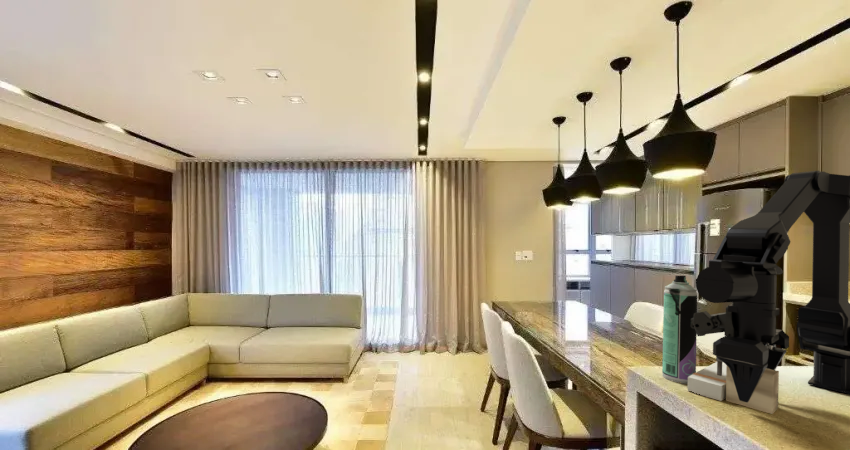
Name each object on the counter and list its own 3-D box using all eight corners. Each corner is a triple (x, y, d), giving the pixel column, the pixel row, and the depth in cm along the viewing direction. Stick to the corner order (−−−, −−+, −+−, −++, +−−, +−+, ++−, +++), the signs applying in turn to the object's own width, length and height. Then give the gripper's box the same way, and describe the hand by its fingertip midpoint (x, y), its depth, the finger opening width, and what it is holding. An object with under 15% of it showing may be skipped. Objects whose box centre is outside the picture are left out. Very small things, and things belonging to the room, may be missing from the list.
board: (720, 371, 82) (720, 358, 82) (751, 379, 78) (751, 365, 78) (687, 391, 71) (687, 376, 71) (721, 401, 67) (721, 385, 67)
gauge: (720, 391, 71) (720, 353, 71) (778, 408, 65) (778, 366, 65) (712, 396, 69) (713, 357, 69) (772, 414, 62) (772, 370, 62)
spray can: (697, 385, 73) (699, 277, 74) (662, 379, 76) (664, 275, 76) (694, 377, 78) (696, 275, 78) (661, 371, 81) (664, 273, 81)
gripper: (714, 290, 78) (713, 370, 78) (677, 297, 67) (675, 391, 66) (790, 299, 70) (789, 388, 69) (762, 309, 58) (760, 416, 58)
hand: (751, 394), depth 66 cm, fingers open, 9 cm apart
